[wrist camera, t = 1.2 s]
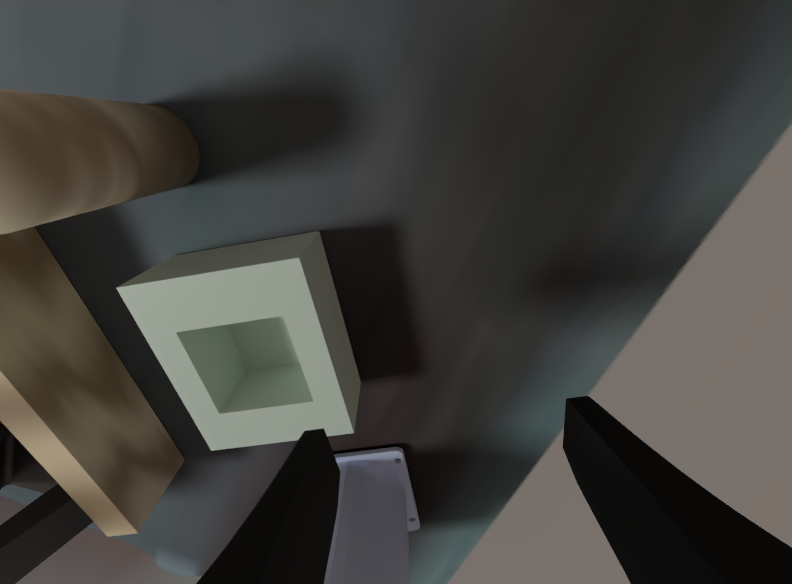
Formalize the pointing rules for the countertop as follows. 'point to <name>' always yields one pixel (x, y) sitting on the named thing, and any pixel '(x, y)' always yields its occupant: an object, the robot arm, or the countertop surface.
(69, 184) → the dowel
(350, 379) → the socket block
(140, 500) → the oak wall
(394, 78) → the countertop surface
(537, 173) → the countertop surface
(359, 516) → the robot arm
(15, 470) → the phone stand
